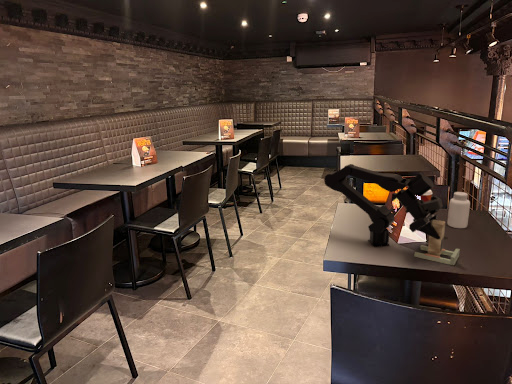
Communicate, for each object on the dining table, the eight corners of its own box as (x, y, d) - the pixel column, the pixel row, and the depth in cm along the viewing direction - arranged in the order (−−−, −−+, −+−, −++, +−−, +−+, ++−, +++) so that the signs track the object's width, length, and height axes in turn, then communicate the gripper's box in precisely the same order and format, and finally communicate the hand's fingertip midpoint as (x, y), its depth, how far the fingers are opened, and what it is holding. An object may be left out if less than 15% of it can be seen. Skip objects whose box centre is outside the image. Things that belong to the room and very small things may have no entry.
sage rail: (414, 256, 137) (414, 249, 136) (421, 248, 143) (421, 241, 142) (453, 265, 129) (454, 257, 128) (458, 256, 135) (459, 249, 134)
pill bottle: (466, 229, 160) (470, 196, 156) (446, 227, 164) (449, 194, 160) (467, 224, 166) (471, 192, 162) (448, 221, 170) (451, 190, 166)
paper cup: (432, 221, 171) (434, 192, 167) (414, 221, 173) (416, 192, 169) (428, 216, 178) (430, 188, 175) (411, 215, 180) (413, 187, 176)
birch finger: (427, 253, 136) (430, 222, 133) (430, 249, 139) (433, 219, 136) (440, 256, 133) (443, 224, 130) (442, 252, 136) (446, 221, 133)
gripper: (421, 196, 125) (454, 233, 122) (435, 184, 139) (465, 217, 135) (396, 214, 132) (426, 250, 128) (412, 201, 146) (440, 233, 142)
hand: (440, 236), depth 133 cm, fingers closed on birch finger, 4 cm apart
